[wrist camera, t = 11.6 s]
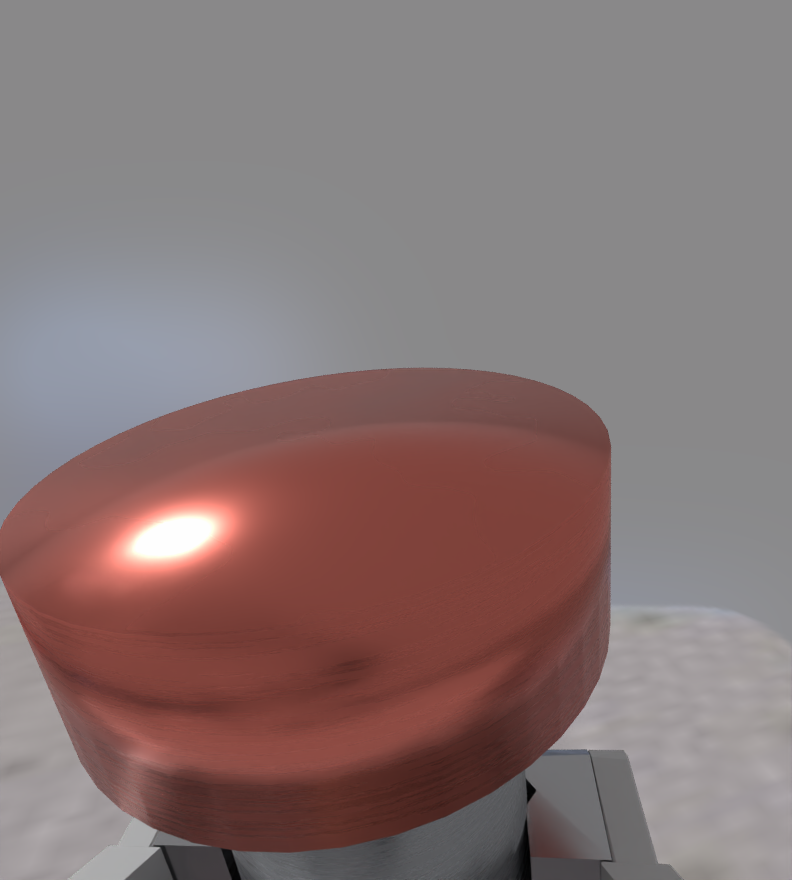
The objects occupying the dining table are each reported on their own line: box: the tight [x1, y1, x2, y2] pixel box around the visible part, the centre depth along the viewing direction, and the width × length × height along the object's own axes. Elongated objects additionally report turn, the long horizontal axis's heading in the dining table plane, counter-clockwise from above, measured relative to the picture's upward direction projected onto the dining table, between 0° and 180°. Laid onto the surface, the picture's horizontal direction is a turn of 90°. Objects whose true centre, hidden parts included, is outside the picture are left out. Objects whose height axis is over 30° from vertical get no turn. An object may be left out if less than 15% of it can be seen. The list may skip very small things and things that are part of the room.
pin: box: [0, 368, 611, 880], centre depth 9 cm, size 6×6×14 cm
